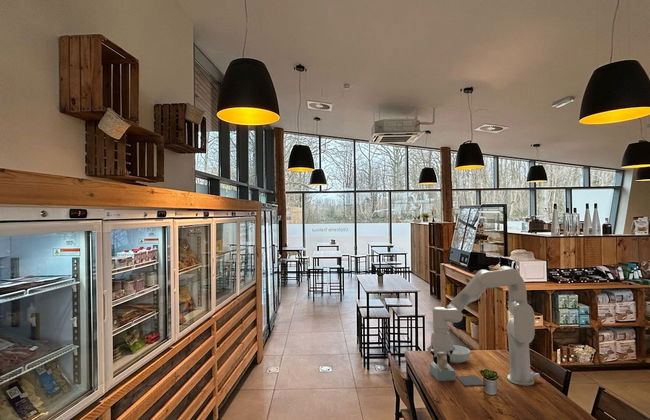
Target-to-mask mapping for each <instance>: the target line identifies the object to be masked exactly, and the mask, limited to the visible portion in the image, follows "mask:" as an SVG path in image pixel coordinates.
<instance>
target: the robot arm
mask: <svg viewBox="0 0 650 420" xmlns="http://www.w3.org/2000/svg"><path fill="white" fill-rule="evenodd" d="M501 287H507V291H508V312H509V313H510V315H512V316H513V318H512V319H510V320H509V321H508V322H507V324H506V334H507V339H508V353H509V354H508V362H509V373H508V374H507V375H506V380H507V381H508V382H510V383H512V384H515V385H518V386H526V387H527V386H532V385H534V384H535V379H534V378H540V377H541V375H540V373H539V372H534V371H531V361H530V360H531V359H530V343H532V342H533V340H534V338H535V335H536V333H535V331H536V329H535V328H536V326H535V325H536V324H535V322H536V321H535V320H536V319H535V318H536V317H535V312H534V309H533V307H532V306H531V305H530V304H529V303H528V294H527V292H528V291H527V286H526V283H525V280H524V278H523V277H522V276H521V274H520V272H519V270H517V269H515V268H513V267H511V266H508V265H502V266H500V267H499V268H498V269H497V270H488V269H485V268H484V269H480V270H478V271H477V272H476V273H475V274H474V276H473V277H471V279H470V280H469V282H468V283H467V285H466V286H465V287H463V289H462V290H461V291H460V292H459V293H458V294H457V295H455V296H454V298H452V300H451V301H450V302H449V304H448V305H447V307H443V306H435V307H433V308H432V325H433V326H432V327H433V328H432V329H433V331H432V332H431V334H430V335H431V336H430V345H429V346H428V347H427V348H426V350H427V351H428V352H429V353H430V354H431V355H432V357H433V358H432V359H433V361H434V363H435V364H437V352H444V351H446V353H447V354H446V356H447V363H448V364H449V365H450V363H451V362H450V356H451V354H452V353H453V351H454V350H455V348H454V347H453V346H452V345H453V344H452V342H451V337H450V336H451V335H450V332H449V331H450V330H451V327H448V322H450V323H453V324H454V323H460V322H461V321H462V320H463V317H464V316H463V312H462V311H463V310H464V309H465V308H466V306H468V305H469V304H470V303H472V302H476V301H477V300H479V298H480V297H481V296H482V294H483V293H484V292H485V291H486V289H487V288H488V289H492V288H501ZM451 348H452V349H451ZM433 361H432V362H433Z"/></svg>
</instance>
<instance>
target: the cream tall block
mask: <svg viewBox="0 0 650 420" xmlns="http://www.w3.org/2000/svg"><path fill="white" fill-rule="evenodd" d="M436 356H437V366H438V367H439V368H440V369H441V370H446V369H447V356H446V355H445V354H444V353H443V352H437V355H436Z"/></svg>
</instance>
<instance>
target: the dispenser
mask: <svg viewBox="0 0 650 420" xmlns="http://www.w3.org/2000/svg"><path fill="white" fill-rule="evenodd" d="M429 371H430V373H431V375H432V376H433V377H434V378H435V380H437V381H438V382H442V381H443V382H447V381H448V382H449V381H456V372H455V371H456V370H455V369H454V368H453V367H452V366H451V365H450V364H448V363H447V369H446V370H441V369H440V368H439V367H438V366H437V364H435V363H434V361H432V362H430V363H429Z"/></svg>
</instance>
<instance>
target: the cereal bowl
mask: <svg viewBox="0 0 650 420" xmlns="http://www.w3.org/2000/svg"><path fill="white" fill-rule="evenodd" d="M451 345H452V346H453V347H454V348H455V350H454V351H453V353H452V354H451V356H450V363H452V364H462V363H464V362H466V361H468V360H469V359H470V357H471V350H470V349H469V348H468V347H466V346H463V345H457V344H451ZM451 349H452V348H451ZM443 353H444V354H445V355H446V354H447V353H446V351H444V352H443Z"/></svg>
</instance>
